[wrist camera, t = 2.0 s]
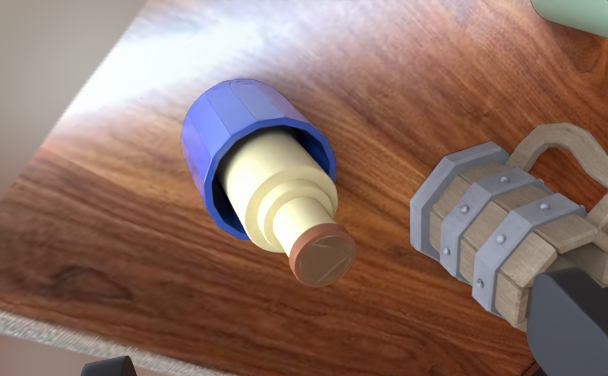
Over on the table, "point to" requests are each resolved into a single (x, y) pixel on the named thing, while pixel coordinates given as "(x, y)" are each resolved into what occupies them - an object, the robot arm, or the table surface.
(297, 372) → the table surface
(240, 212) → the cream bottle
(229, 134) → the blue cup
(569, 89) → the table surface
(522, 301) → the tankard
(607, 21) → the green stand
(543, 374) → the smartphone
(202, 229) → the table surface
